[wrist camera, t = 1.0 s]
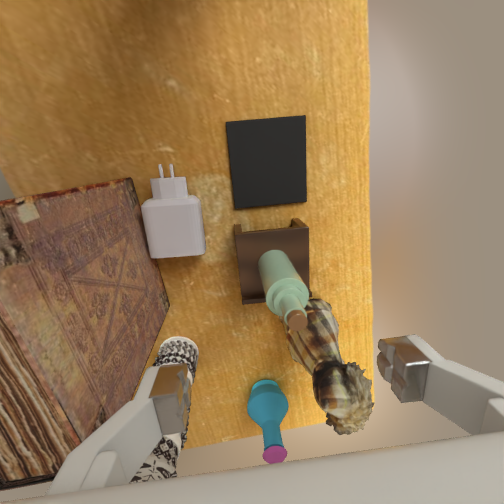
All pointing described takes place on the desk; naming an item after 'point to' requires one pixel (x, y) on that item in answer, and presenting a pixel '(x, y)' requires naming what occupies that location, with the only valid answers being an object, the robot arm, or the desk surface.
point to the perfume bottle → (269, 417)
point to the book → (71, 320)
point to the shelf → (262, 241)
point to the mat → (268, 161)
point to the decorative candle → (169, 446)
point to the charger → (173, 219)
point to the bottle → (283, 288)
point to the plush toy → (330, 369)
